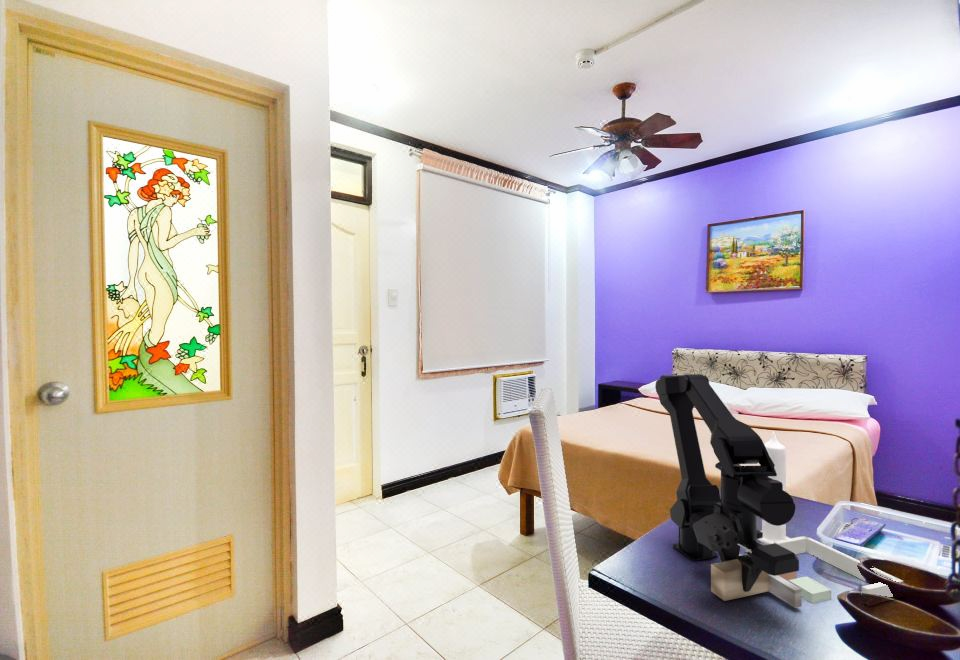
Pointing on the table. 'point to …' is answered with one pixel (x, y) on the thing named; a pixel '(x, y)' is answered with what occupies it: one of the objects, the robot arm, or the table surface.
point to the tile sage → (812, 589)
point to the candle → (779, 460)
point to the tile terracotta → (788, 576)
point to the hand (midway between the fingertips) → (738, 585)
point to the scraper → (730, 586)
